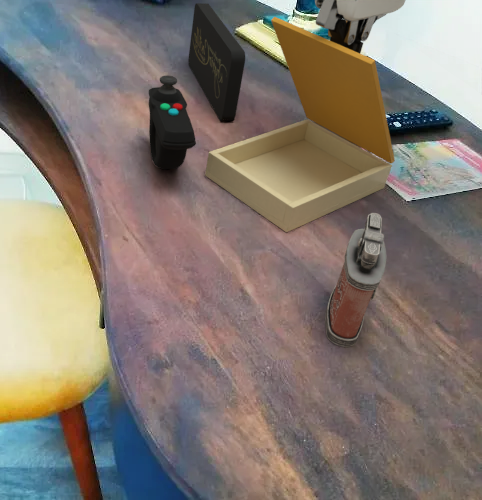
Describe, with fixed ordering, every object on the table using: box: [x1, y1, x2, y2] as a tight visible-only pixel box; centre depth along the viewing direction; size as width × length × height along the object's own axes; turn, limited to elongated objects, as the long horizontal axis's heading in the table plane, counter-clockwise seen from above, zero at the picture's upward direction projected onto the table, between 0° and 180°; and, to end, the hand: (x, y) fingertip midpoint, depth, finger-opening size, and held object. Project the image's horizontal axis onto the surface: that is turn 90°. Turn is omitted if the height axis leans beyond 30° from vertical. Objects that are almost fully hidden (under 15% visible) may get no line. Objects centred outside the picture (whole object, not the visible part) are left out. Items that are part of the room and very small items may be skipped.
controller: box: [148, 75, 197, 170], centre depth 77 cm, size 4×12×10 cm, turn 8°
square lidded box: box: [204, 118, 393, 233], centre depth 78 cm, size 18×14×3 cm
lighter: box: [324, 212, 387, 348], centre depth 58 cm, size 8×3×10 cm, turn 161°
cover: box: [270, 16, 395, 165], centre depth 74 cm, size 18×14×1 cm
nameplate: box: [187, 2, 246, 121], centre depth 95 cm, size 21×2×10 cm, turn 10°
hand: (337, 73), depth 72 cm, fingers closed
